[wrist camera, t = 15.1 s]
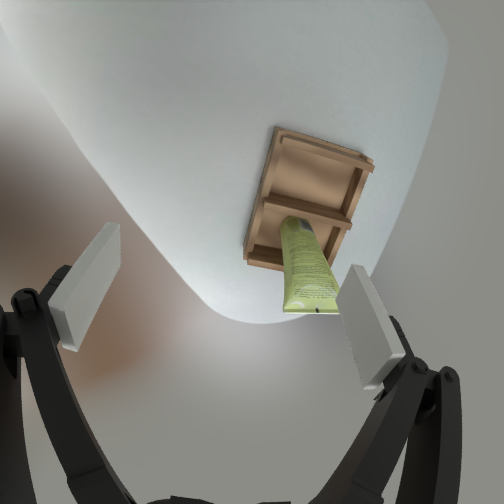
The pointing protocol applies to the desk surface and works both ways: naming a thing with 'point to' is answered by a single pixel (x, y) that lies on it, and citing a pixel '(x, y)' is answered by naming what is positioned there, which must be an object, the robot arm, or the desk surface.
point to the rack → (304, 195)
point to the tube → (306, 271)
